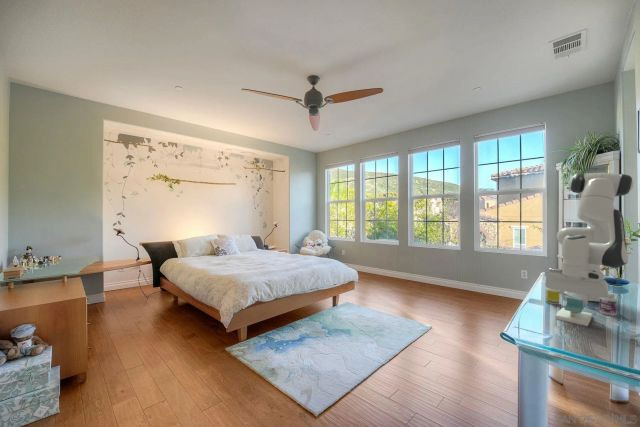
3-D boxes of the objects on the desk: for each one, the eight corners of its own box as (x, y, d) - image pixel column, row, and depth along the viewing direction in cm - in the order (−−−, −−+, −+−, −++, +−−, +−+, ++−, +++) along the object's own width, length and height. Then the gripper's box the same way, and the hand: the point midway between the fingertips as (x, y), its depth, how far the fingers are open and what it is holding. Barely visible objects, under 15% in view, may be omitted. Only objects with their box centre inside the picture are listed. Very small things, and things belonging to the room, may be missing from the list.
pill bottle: (599, 313, 124) (600, 292, 124) (598, 310, 128) (599, 290, 128) (617, 316, 120) (617, 295, 120) (615, 313, 124) (615, 293, 124)
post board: (562, 310, 127) (562, 300, 127) (592, 317, 119) (592, 305, 119) (555, 318, 117) (555, 307, 117) (587, 326, 109) (587, 314, 109)
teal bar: (580, 313, 112) (580, 303, 112) (564, 309, 115) (564, 300, 115) (585, 306, 120) (585, 296, 121) (570, 303, 124) (570, 294, 124)
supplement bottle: (562, 305, 135) (562, 285, 135) (549, 304, 136) (550, 285, 136) (555, 301, 141) (555, 283, 141) (543, 300, 142) (543, 282, 142)
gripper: (543, 268, 124) (543, 298, 124) (608, 276, 108) (607, 310, 108) (546, 267, 128) (546, 295, 128) (609, 274, 112) (609, 307, 112)
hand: (575, 302), depth 118 cm, fingers closed on teal bar, 5 cm apart
